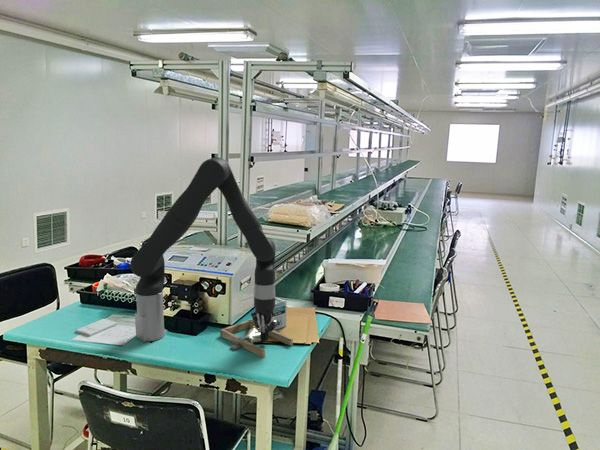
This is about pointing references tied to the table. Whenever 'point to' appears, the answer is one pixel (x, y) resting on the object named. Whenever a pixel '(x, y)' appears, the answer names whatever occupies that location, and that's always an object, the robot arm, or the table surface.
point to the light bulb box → (280, 313)
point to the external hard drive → (96, 327)
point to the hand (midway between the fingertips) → (264, 340)
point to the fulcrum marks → (238, 346)
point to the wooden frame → (247, 345)
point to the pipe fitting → (253, 336)
